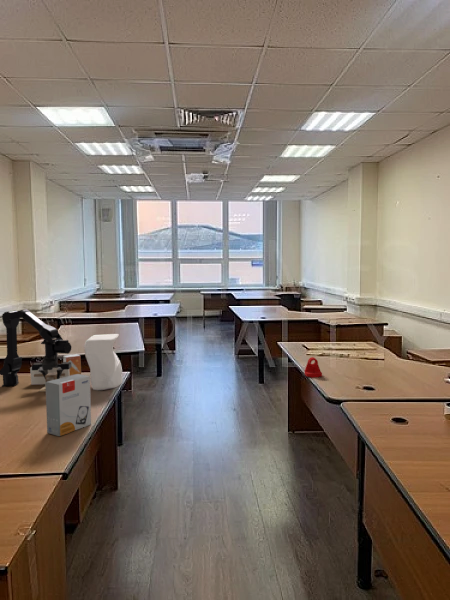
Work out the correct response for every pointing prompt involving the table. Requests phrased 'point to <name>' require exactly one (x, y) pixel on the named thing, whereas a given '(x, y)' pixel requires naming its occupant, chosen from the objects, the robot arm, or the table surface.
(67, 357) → the small box
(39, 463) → the table surface
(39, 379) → the white slotted box
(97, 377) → the white curved block
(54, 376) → the cabinet block
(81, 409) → the hard drive box
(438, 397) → the table surface
